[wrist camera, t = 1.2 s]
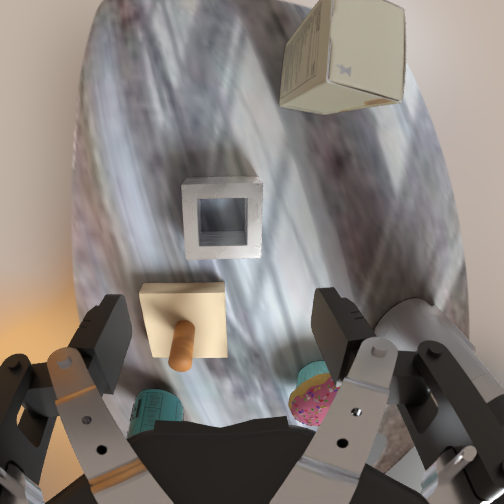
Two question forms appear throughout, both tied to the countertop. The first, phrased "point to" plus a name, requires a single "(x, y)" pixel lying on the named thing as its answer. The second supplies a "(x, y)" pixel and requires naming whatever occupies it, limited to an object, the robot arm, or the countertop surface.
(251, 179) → the link
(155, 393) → the beverage bottle
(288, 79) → the skincare box
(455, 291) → the countertop surface
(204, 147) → the countertop surface
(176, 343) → the keeper
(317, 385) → the cupcake
